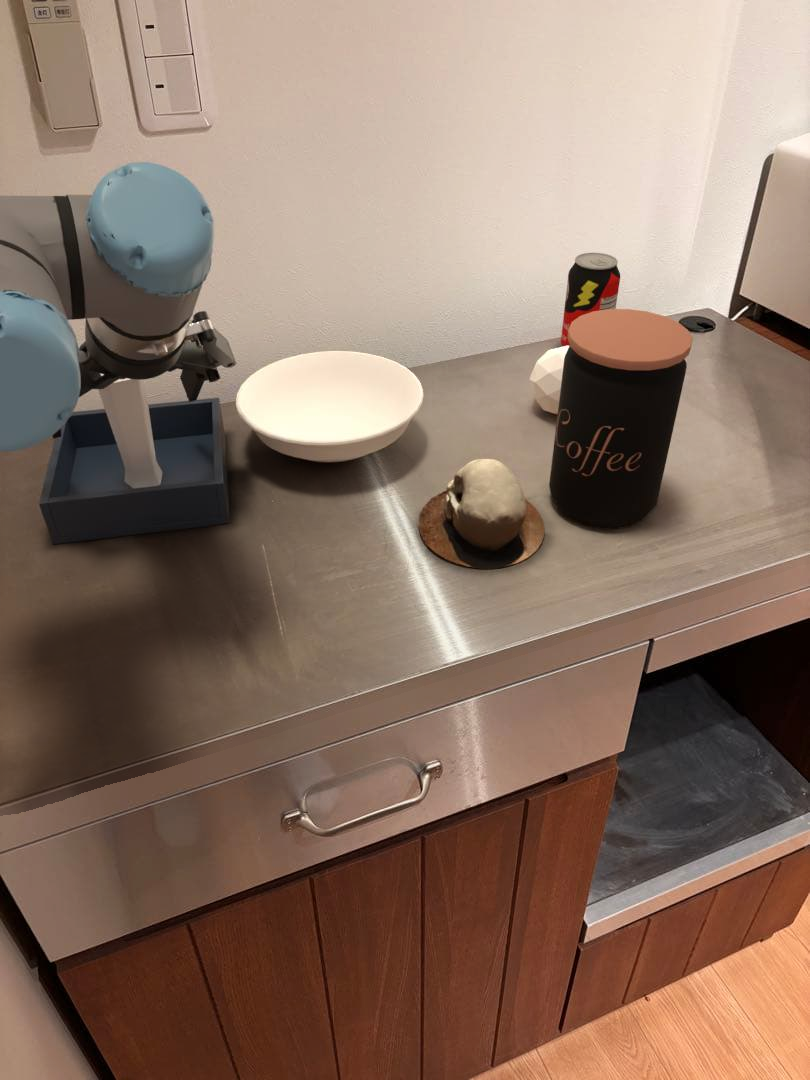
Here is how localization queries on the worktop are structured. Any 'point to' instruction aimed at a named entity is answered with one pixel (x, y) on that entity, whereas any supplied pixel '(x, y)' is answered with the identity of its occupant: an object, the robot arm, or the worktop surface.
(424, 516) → the skull
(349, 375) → the bowl
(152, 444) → the perfume bottle
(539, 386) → the geometric ball
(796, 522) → the worktop surface
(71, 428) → the bin
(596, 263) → the beverage can
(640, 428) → the coffee jar
